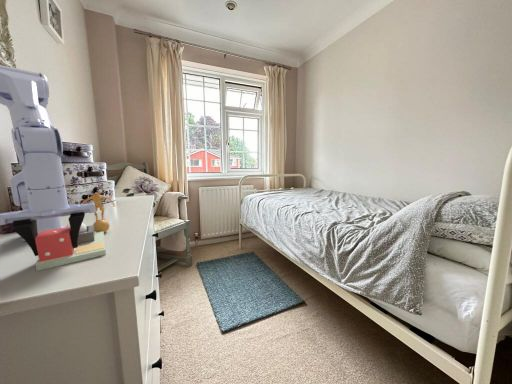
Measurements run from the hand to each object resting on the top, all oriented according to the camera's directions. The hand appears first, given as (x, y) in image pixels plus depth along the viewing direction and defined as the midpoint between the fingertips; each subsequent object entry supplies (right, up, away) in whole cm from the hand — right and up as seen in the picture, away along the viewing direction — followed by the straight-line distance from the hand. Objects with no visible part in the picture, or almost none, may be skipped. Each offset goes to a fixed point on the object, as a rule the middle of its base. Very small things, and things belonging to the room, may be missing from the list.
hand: (57, 250), depth 44 cm
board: (0, -1, +5) cm, 5 cm away
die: (0, -1, 0) cm, 1 cm away
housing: (-3, 0, +8) cm, 8 cm away
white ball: (-3, +1, +8) cm, 8 cm away
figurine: (-4, 0, +18) cm, 18 cm away
